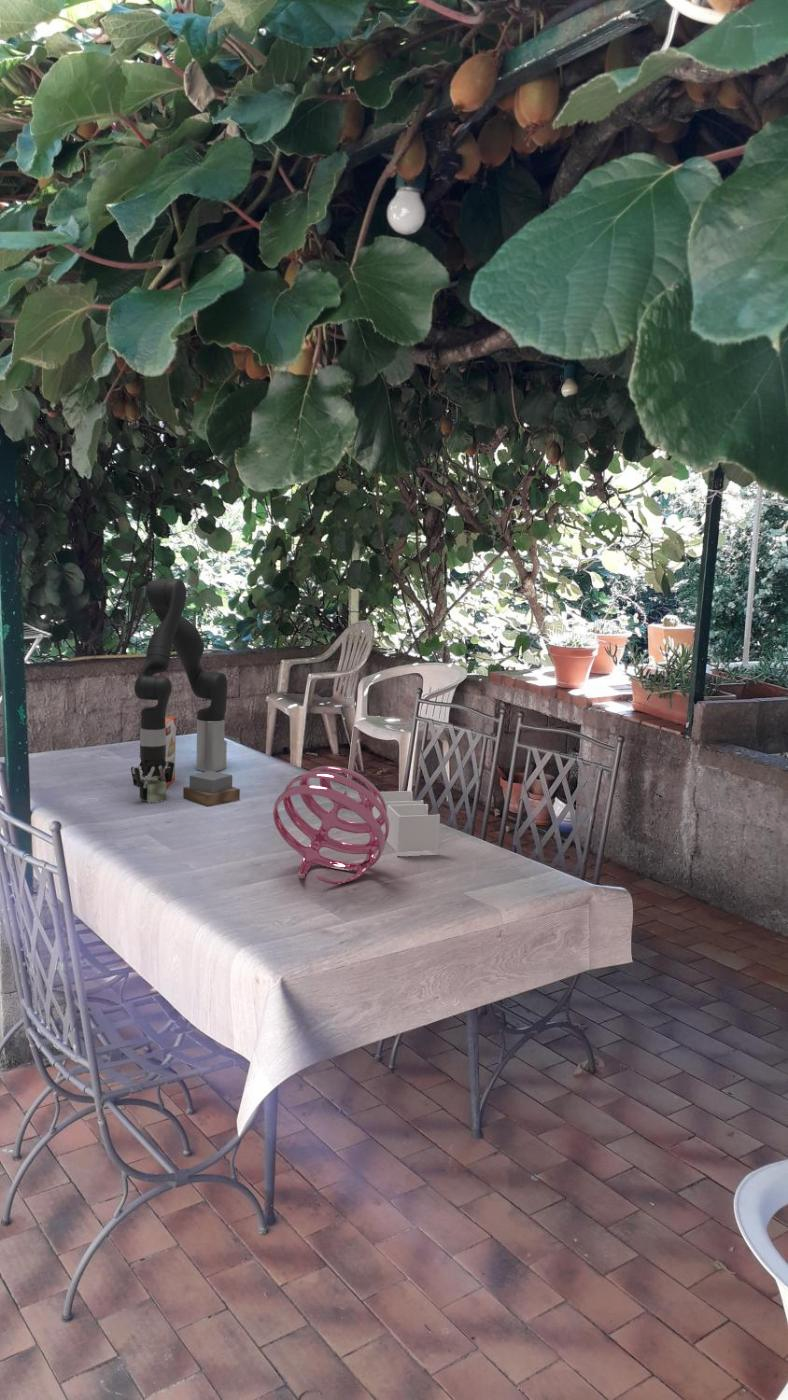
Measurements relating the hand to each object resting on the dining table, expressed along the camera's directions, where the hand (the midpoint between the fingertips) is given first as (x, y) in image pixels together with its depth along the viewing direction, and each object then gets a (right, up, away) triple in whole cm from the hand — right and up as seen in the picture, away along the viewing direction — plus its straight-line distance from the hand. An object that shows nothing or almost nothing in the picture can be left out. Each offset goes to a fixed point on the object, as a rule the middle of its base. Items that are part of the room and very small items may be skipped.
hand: (152, 798), depth 311 cm
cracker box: (-1, +2, +19) cm, 19 cm away
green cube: (0, -1, 0) cm, 1 cm away
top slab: (+17, +3, +3) cm, 17 cm away
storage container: (+75, -9, -31) cm, 82 cm away
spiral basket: (+58, -13, -60) cm, 84 cm away
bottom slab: (+17, -1, +4) cm, 17 cm away
